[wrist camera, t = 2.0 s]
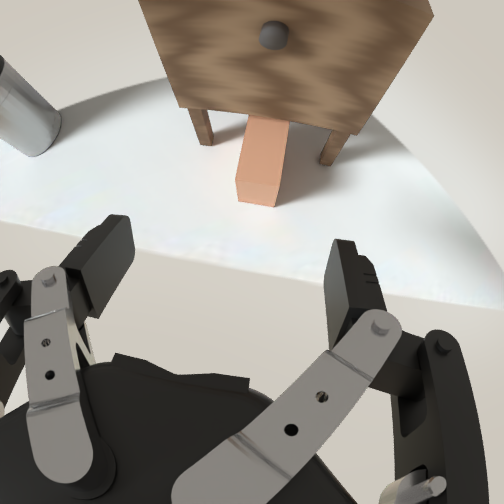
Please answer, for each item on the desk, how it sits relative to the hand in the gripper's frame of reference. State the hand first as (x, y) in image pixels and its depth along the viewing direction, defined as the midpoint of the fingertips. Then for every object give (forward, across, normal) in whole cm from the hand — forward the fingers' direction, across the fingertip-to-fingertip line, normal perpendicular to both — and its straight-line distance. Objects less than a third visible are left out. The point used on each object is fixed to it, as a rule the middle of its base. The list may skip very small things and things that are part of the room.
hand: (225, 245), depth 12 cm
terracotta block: (+28, 0, +8) cm, 29 cm away
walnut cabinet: (+32, 0, +3) cm, 33 cm away
